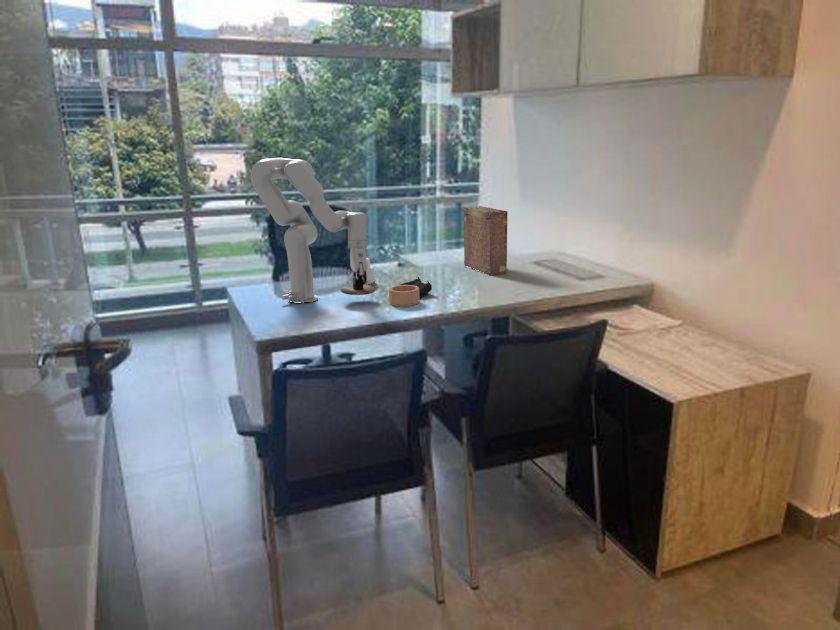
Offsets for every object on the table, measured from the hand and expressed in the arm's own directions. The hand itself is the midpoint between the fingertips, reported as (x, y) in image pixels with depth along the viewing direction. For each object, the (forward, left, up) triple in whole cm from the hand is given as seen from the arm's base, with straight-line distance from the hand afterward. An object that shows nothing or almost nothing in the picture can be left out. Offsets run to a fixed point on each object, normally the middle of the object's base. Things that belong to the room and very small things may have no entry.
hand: (358, 287), depth 257 cm
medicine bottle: (+24, +22, -7) cm, 34 cm away
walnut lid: (0, 0, -1) cm, 1 cm away
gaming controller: (+24, -10, -7) cm, 27 cm away
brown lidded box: (+79, -7, -7) cm, 80 cm away
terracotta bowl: (+10, -16, -6) cm, 20 cm away
